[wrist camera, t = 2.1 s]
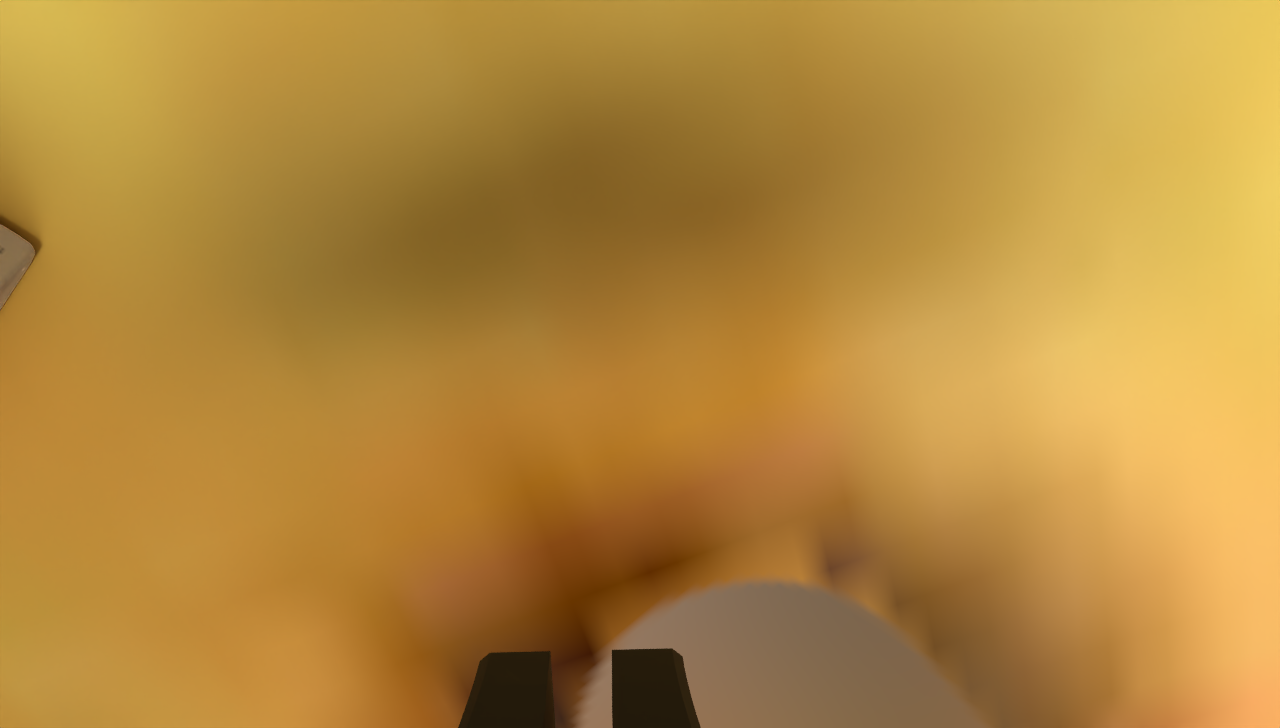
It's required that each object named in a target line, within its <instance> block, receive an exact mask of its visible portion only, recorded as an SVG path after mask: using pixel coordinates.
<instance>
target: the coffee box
mask: <svg viewBox="0 0 1280 728" xmlns="http://www.w3.org/2000/svg"><path fill="white" fill-rule="evenodd" d="M34 256H35V250H34V248H33V246H32V245H31V243H29V242H28V241H26V240H25V239H24V238H22V237H21V236H19V235H18V234H16V233H15V232H13V231H11V230H10V229H8V228H6V227H5V226H3V225H1V224H0V310H1V308H2V307H3V305H4V303H5V302H6V300H7V299H8V297H9V296H10V294H11V293H12V291H13V290H14V288H15V287H16V285H17V284H18V282H19V281H20V279H21V278H22V276H23V275H24V273H25V272H26V270H27V269H28V267H29V265H30V264H31V262H32V260H33V258H34Z"/></svg>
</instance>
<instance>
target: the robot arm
mask: <svg viewBox="0 0 1280 728" xmlns="http://www.w3.org/2000/svg"><path fill="white" fill-rule="evenodd" d="M612 714H613V715H612V718H613V728H700V724H699V722H698V718H697V715H696V712H695V709H694V705H693V701H692V698H691V694H690V690H689V686H688V682H687V678H686V673H685V668H684V663H683V657H682V656H681V655H680V654H679V653H677V652H676V651H675V650H673V649H635V650H634V649H631V650H612ZM458 728H555V715H554V700H553V686H552V671H551V656H550V651H547V652H504V653H489V654H488V655H487V656H486V657H484V658H483V659H482V660H481V661H480V663H479V666H478V670H477V673H476V677H475V681H474V684H473V687H472V690H471V693H470V696H469V699H468V702H467V705H466V708H465V711H464V713H463V716H462V719H461V722H460V724H459V727H458Z"/></svg>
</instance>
